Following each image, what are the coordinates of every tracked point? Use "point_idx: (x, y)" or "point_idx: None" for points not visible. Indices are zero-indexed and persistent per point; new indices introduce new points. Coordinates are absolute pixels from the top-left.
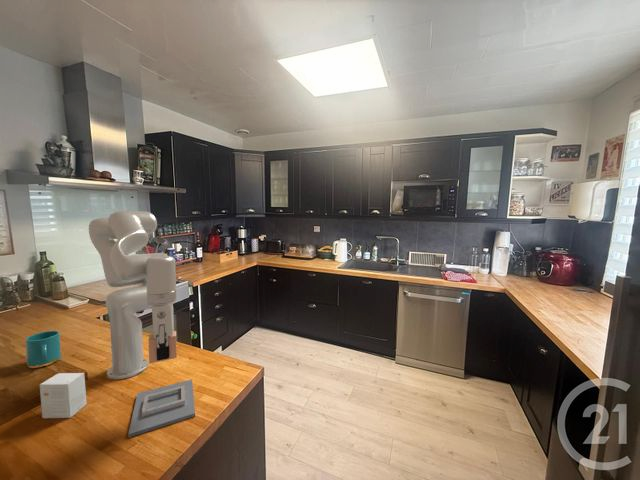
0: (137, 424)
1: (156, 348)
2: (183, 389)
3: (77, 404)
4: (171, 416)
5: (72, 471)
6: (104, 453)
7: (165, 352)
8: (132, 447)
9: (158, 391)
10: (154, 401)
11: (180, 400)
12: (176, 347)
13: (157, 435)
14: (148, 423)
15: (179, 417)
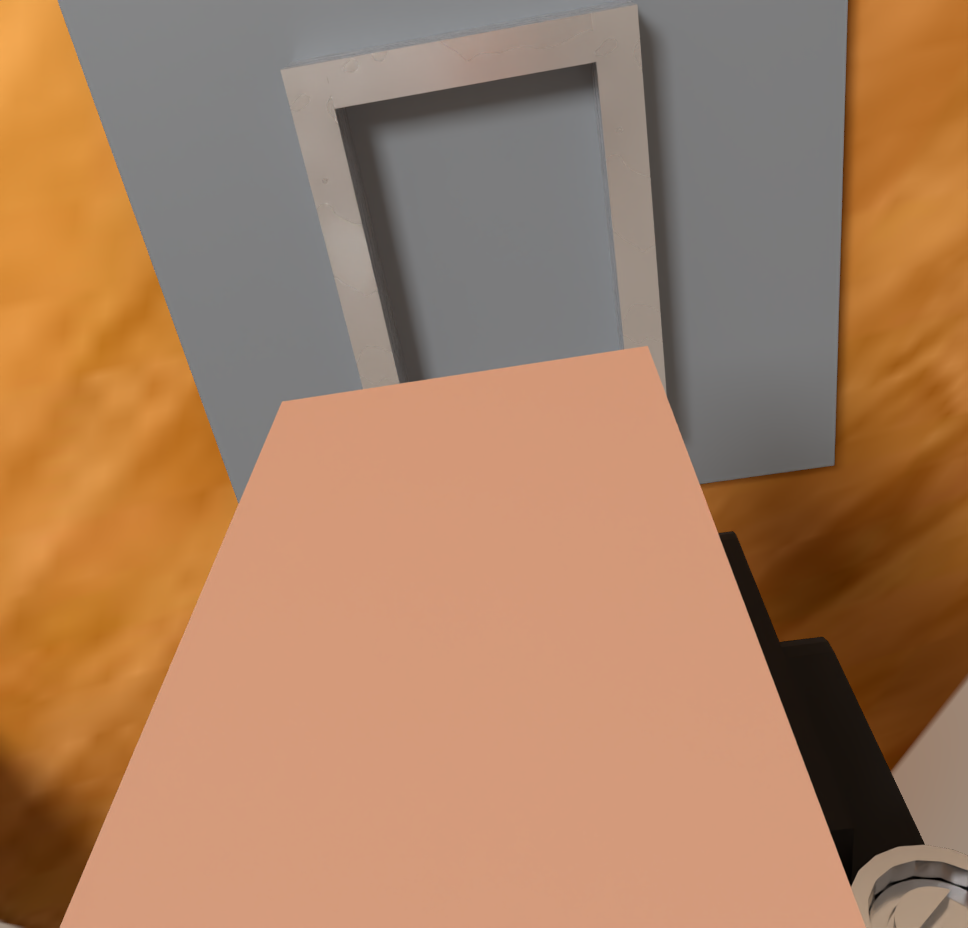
0: (740, 429)
1: None
2: (374, 68)
3: None
4: (774, 134)
5: (962, 660)
6: (905, 550)
7: (867, 737)
8: (958, 388)
9: (264, 366)
10: (439, 366)
11: (616, 69)
12: (328, 478)
13: (928, 220)
14: (775, 341)
15: (838, 34)
